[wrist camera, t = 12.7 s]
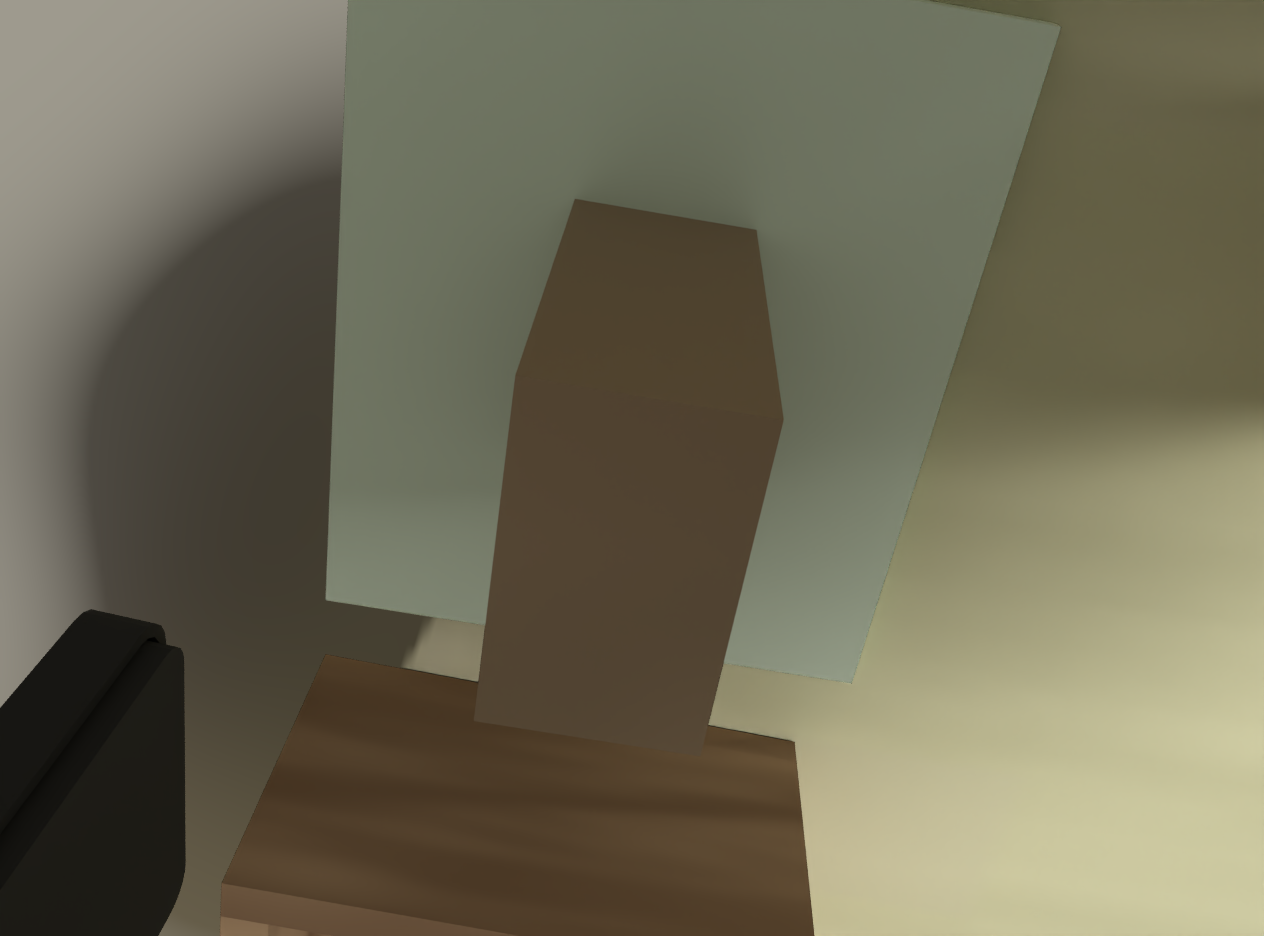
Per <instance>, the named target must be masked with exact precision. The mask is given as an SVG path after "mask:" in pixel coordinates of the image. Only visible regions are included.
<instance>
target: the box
mask: <svg viewBox="0 0 1264 936" xmlns="http://www.w3.org/2000/svg"><path fill="white" fill-rule="evenodd" d="M477 689H478V683H477V682H471V681H466V680H461V679H455V678H450V677H444V676H439V675H434V674H428V673H423V672H418V671H412V670H407V669H402V668H396V667H390V666H385V665H380V664H375V663H369V662H364V661H359V660H353V659H348V658H343V657H338V656H332V655H327V654H326V655H325V657H324V659H323V661H322V663H321V665H320V668H319V670H318V672H317V674H316V676H315V679H314V681H313V683H312V685H311V687H310V690H309V692H308V694H307V696H306V699H305V701H304V703H303V705H302V707H301V710H300V712H299V714H298V716H297V718H296V721H295V723H294V725H293V727H292V730H291V732H290V734H289V736H288V738H287V741H286V743H285V745H284V747H283V749H282V752H281V754H280V756H279V758H278V760H277V763H276V765H275V767H274V769H273V771H272V774H271V776H270V778H269V780H268V782H267V784H266V787H265V789H264V791H263V793H262V795H261V798H260V800H259V802H258V804H257V806H256V809H255V811H254V813H253V815H252V817H251V820H250V822H249V824H248V826H247V829H246V831H245V833H244V835H243V837H242V839H241V842H240V844H239V846H238V848H237V850H236V853H235V855H234V857H233V859H232V861H231V864H230V866H229V868H228V870H227V872H226V875H225V877H224V879H223V881H222V886H221V914H220V915H221V916H220V936H814V927H813V918H812V908H811V898H810V888H809V879H808V869H807V859H806V849H805V840H804V830H803V820H802V810H801V800H800V791H799V781H798V771H797V761H796V752H795V742H792V741H786V740H781V739H776V738H770V737H765V736H760V735H754V734H749V733H744V732H738V731H733V730H728V729H722V728H717V727H712V726H708V727H707V731H706V735H705V739H704V743H703V748H702V752H701V756H694V755H688V754H681V753H675V752H669V751H662V750H656V749H649V748H643V747H637V746H630V745H624V744H617V743H611V742H605V741H598V740H592V739H585V738H579V737H572V736H566V735H560V734H553V733H547V732H540V731H534V730H528V729H521V728H515V727H508V726H502V725H496V724H489V723H483V722H476V721H474V714H475V706H476V698H477Z"/></svg>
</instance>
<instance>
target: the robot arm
mask: <svg viewBox="0 0 1264 936" xmlns="http://www.w3.org/2000/svg"><path fill="white" fill-rule="evenodd" d="M184 730H185V727H184V656H183V652H182V650H181V648H178V647H174V646H170V645H166V639H165V632H164V630H163V628H162V626H161V625H158V624H155V623H150V622H146V621H141V620H136V619H132V618H128V617H123V616H119V615H114V614H110V613H105V612H100V611H96V610H92V609H91V610H88V611H86V612H83V613H82V614H81V615H80V616H79V617H78V618H77V619H76V620H75V621H74V622H73V623H72V624H71V625H70V626H69V628H68V629H67V630H66V631H65V633H64V634H63V635H62V636H61V637H60V638H59V639H58V641H57V642H56V643H55V644H54V645H53V647H52V648H51V649H50V650H49V651H48V652H47V654H46V655H45V656H44V657H43V658H42V659H41V661H40V662H39V663H38V664H37V665H36V666H35V668H34V669H33V670H32V671H31V672H30V674H29V675H28V676H27V677H26V678H25V680H24V681H23V682H22V683H21V684H20V685H19V686H18V688H17V689H16V690H15V691H14V692H13V694H12V695H11V696H10V697H9V698H8V699H7V701H6V702H5V703H4V704H3V705H2V707H1V708H0V936H158V935H159V933H160V932H161V930H162V928H163V926H164V924H165V922H166V921H167V919H168V917H169V915H170V913H171V911H172V909H173V907H174V905H175V902H176V900H177V897H178V895H179V892H180V889H181V885H182V882H183V877H184V873H185V742H184V741H185V737H184V736H185V731H184Z"/></svg>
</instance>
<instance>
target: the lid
mask: <svg viewBox="0 0 1264 936" xmlns="http://www.w3.org/2000/svg"><path fill="white" fill-rule="evenodd" d="M1060 29H1061V26H1059V25H1057V24H1055V23H1052V22H1047V21H1041V20H1035V19H1030V18H1024V17H1019V16H1013V15H1007V14H1002V13H996V12H990V11H985V10H979V9H974V8H968V7H962V6H957V5H951V4H945V3H940V2H934V1H929V0H348V16H347V43H346V69H345V95H344V122H343V123H344V124H343V149H342V150H343V151H342V175H341V177H342V178H341V203H340V229H339V257H338V282H337V283H338V284H337V309H336V311H337V312H336V336H335V363H334V364H335V365H334V390H333V416H332V443H331V470H330V471H331V472H330V497H329V523H328V525H329V526H328V551H327V578H326V600H329V601H335V602H341V603H347V604H354V605H360V606H366V607H373V608H379V609H385V610H391V611H398V612H404V613H411V614H417V615H423V616H429V617H435V618H442V619H448V620H454V621H461V622H467V623H473V624H480V625H485V631H484V639H483V648H482V656H481V664H480V673H479V681H478V689H477V698H476V706H475V714H474V721H476V722H483V723H489V724H496V725H502V726H508V727H515V728H521V729H528V730H534V731H540V732H547V733H553V734H560V735H566V736H572V737H579V738H585V739H592V740H598V741H605V742H611V743H617V744H624V745H630V746H637V747H643V748H649V749H656V750H662V751H669V752H675V753H681V754H688V755H694V756H701V752H702V748H703V743H704V739H705V735H706V731H707V727H708V723H709V719H710V715H711V711H712V707H713V703H714V699H715V695H716V691H717V687H718V683H719V679H720V675H721V671H722V667H723V663H725V664H732V665H738V666H744V667H750V668H757V669H763V670H769V671H776V672H782V673H788V674H795V675H801V676H807V677H813V678H820V679H826V680H832V681H839V682H845V683H851V684H852V681H853V678H854V675H855V672H856V668H857V665H858V662H859V659H860V656H861V653H862V650H863V647H864V643H865V640H866V637H867V634H868V631H869V628H870V625H871V621H872V618H873V615H874V612H875V609H876V606H877V603H878V600H879V596H880V593H881V590H882V587H883V584H884V581H885V578H886V574H887V571H888V568H889V565H890V562H891V559H892V556H893V553H894V549H895V546H896V543H897V540H898V537H899V534H900V531H901V528H902V524H903V521H904V518H905V515H906V512H907V509H908V506H909V502H910V499H911V496H912V493H913V490H914V487H915V484H916V481H917V477H918V474H919V471H920V468H921V465H922V462H923V459H924V455H925V452H926V449H927V446H928V443H929V440H930V437H931V434H932V430H933V427H934V424H935V421H936V418H937V415H938V412H939V408H940V405H941V402H942V399H943V396H944V393H945V390H946V387H947V383H948V380H949V377H950V374H951V371H952V368H953V365H954V361H955V358H956V355H957V352H958V349H959V346H960V343H961V340H962V336H963V333H964V330H965V327H966V324H967V321H968V318H969V315H970V311H971V308H972V305H973V302H974V299H975V296H976V293H977V289H978V286H979V283H980V280H981V277H982V274H983V271H984V268H985V264H986V261H987V258H988V255H989V252H990V249H991V246H992V242H993V239H994V236H995V233H996V230H997V227H998V224H999V221H1000V217H1001V214H1002V211H1003V208H1004V205H1005V202H1006V199H1007V195H1008V192H1009V189H1010V186H1011V183H1012V180H1013V177H1014V174H1015V170H1016V167H1017V164H1018V161H1019V158H1020V155H1021V152H1022V148H1023V145H1024V142H1025V139H1026V136H1027V133H1028V130H1029V127H1030V123H1031V120H1032V117H1033V114H1034V111H1035V108H1036V105H1037V102H1038V98H1039V95H1040V92H1041V89H1042V86H1043V83H1044V80H1045V76H1046V73H1047V70H1048V67H1049V64H1050V61H1051V58H1052V55H1053V51H1054V48H1055V45H1056V42H1057V39H1058V36H1059V33H1060Z"/></svg>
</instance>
